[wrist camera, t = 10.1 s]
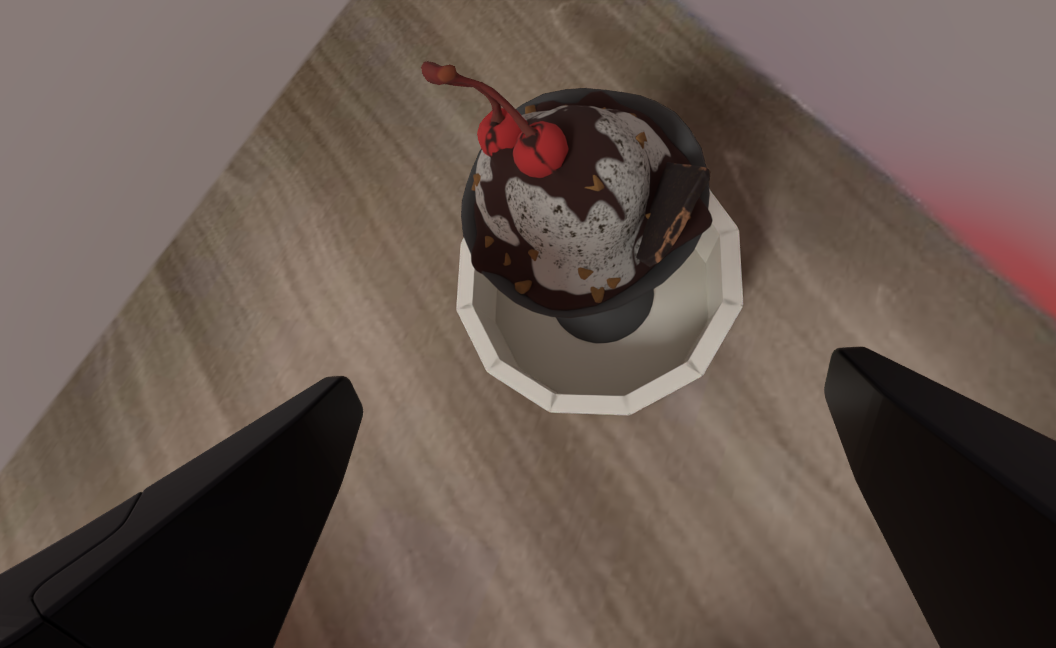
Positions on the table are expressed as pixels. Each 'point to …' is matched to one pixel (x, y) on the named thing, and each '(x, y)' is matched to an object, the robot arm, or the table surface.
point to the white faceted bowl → (622, 366)
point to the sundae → (582, 203)
